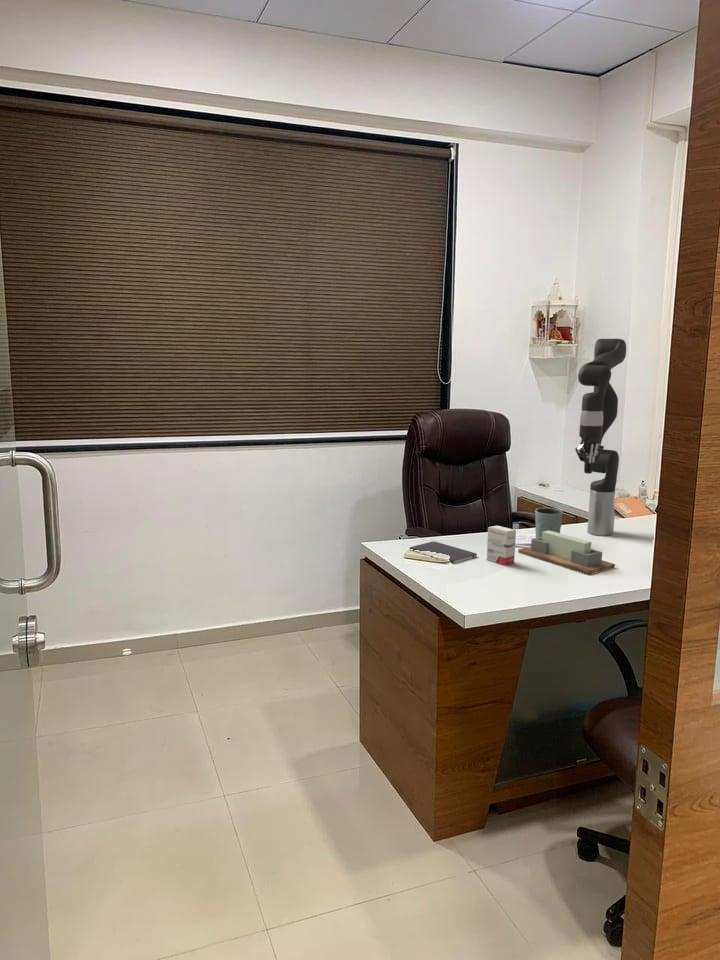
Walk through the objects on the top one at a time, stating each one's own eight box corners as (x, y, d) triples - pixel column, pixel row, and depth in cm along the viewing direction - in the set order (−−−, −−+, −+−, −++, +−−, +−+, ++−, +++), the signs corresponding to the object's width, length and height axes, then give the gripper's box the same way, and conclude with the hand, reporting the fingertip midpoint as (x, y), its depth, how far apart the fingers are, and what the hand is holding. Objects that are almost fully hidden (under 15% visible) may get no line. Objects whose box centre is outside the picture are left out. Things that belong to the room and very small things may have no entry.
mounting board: (544, 546, 258) (545, 543, 258) (614, 567, 233) (615, 564, 233) (518, 552, 250) (518, 549, 250) (587, 575, 226) (588, 571, 225)
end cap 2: (587, 567, 230) (587, 555, 229) (570, 562, 235) (571, 550, 234) (601, 563, 234) (602, 552, 233) (584, 558, 239) (585, 547, 238)
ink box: (514, 563, 238) (516, 529, 236) (505, 565, 235) (507, 531, 233) (495, 557, 244) (496, 524, 242) (485, 559, 241) (487, 526, 239)
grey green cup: (549, 536, 271) (551, 506, 269) (567, 543, 262) (569, 512, 260) (528, 539, 267) (529, 508, 265) (545, 546, 258) (546, 514, 256)
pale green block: (547, 549, 250) (548, 530, 249) (589, 562, 235) (591, 541, 234) (541, 550, 248) (542, 531, 247) (583, 563, 233) (584, 543, 232)
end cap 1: (545, 546, 253) (545, 535, 253) (559, 550, 248) (560, 540, 247) (530, 549, 249) (531, 538, 249) (545, 554, 244) (546, 543, 243)
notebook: (409, 551, 253) (453, 565, 237) (409, 547, 252) (453, 560, 237) (433, 545, 261) (478, 558, 245) (434, 541, 260) (478, 553, 245)
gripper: (594, 421, 248) (591, 469, 251) (569, 423, 241) (566, 473, 244) (612, 423, 242) (609, 473, 245) (588, 426, 235) (584, 476, 238)
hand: (588, 473), depth 245 cm, fingers closed
